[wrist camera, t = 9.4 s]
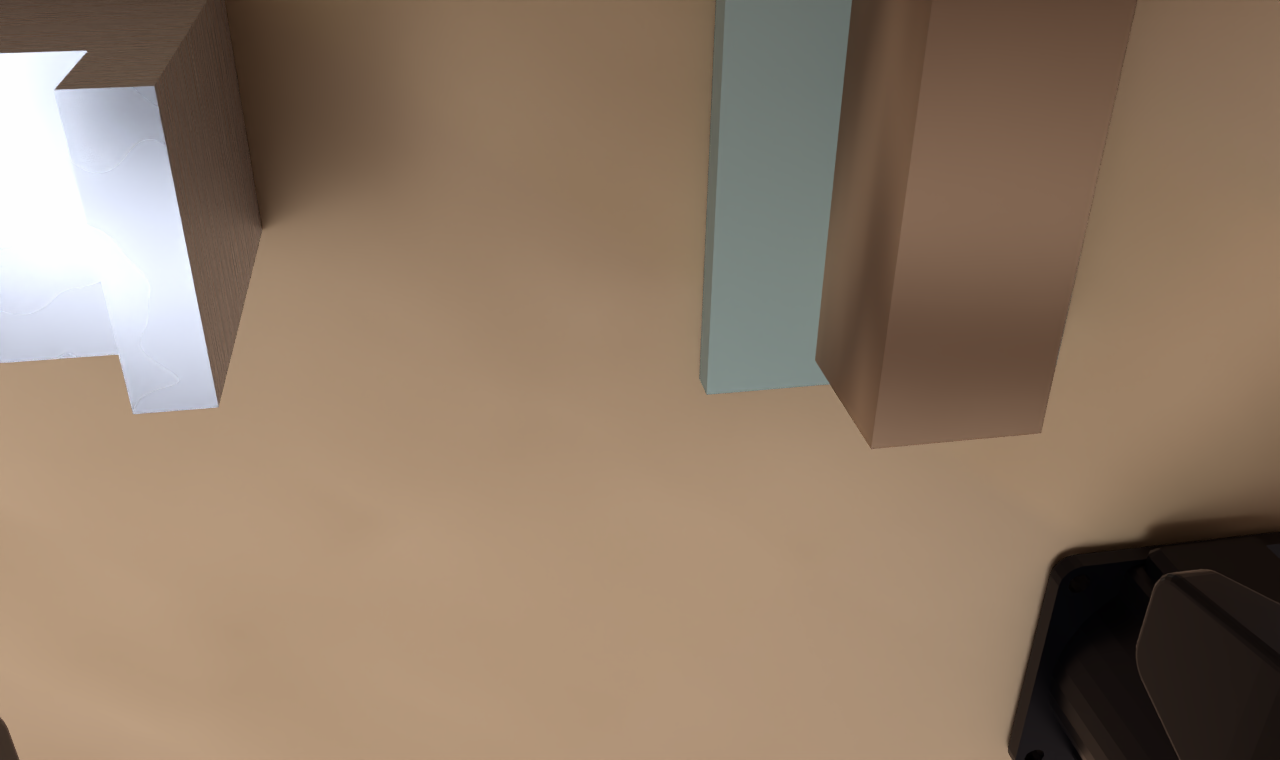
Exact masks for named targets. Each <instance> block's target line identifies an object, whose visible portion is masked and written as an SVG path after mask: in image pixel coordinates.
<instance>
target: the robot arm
mask: <svg viewBox="0 0 1280 760" xmlns="http://www.w3.org/2000/svg"><path fill="white" fill-rule="evenodd" d="M1076 576H1078V577H1076ZM1075 577H1076V578H1075ZM1074 578H1075V579H1074ZM1072 579H1074V580H1072ZM1008 753H1009V755H1010V757H1011V758H1012V760H1280V532H1273V533H1264V534H1256V535H1247V536H1238V537H1229V538H1220V539H1211V540H1202V541H1194V542H1185V543H1176V544H1167V545H1158V546H1149V547H1141V548H1132V549H1123V550H1114V551H1105V552H1096V553H1088V554H1079V555H1073V556H1069V557H1066V558H1064V559H1063V560H1061V561H1059V562H1058V563H1057V564H1056V565H1055V567H1054V568H1053V569H1052V572H1051V574H1050V577H1049V581H1048V585H1047V589H1046V593H1045V597H1044V601H1043V606H1042V610H1041V614H1040V618H1039V622H1038V626H1037V630H1036V634H1035V638H1034V643H1033V647H1032V651H1031V655H1030V659H1029V663H1028V667H1027V671H1026V675H1025V680H1024V684H1023V688H1022V692H1021V696H1020V700H1019V704H1018V708H1017V712H1016V717H1015V721H1014V725H1013V729H1012V733H1011V737H1010V741H1009V745H1008ZM0 760H19V757H18V755H17V752H16V749H15V747H14V744H13V741H12V739H11V736H10V733H9V730H8V728H7V726H6V724H5V722H4V721H3V720H2V719H1V718H0Z"/></svg>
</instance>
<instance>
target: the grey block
mask: <svg viewBox="0 0 1280 760" xmlns="http://www.w3.org/2000/svg"><path fill="white" fill-rule="evenodd" d="M261 234H262V227H261V221H260V214H259V208H258V202H257V196H256V190H255V184H254V178H253V172H252V165H251V159H250V153H249V147H248V141H247V135H246V129H245V123H244V117H243V110H242V104H241V98H240V92H239V86H238V80H237V74H236V68H235V61H234V55H233V49H232V43H231V37H230V31H229V25H228V19H227V12H226V6H225V0H0V363H6V362H20V361H34V360H47V359H61V358H75V357H89V356H103V355H116V354H119V358H120V362H121V367H122V371H123V375H124V379H125V383H126V387H127V391H128V395H129V399H130V403H131V407H132V412H133V414H141V413H153V412H166V411H178V410H190V409H203V408H215V407H219V403H220V399H221V395H222V391H223V387H224V383H225V379H226V375H227V371H228V367H229V363H230V359H231V355H232V351H233V347H234V343H235V339H236V335H237V331H238V327H239V323H240V318H241V314H242V310H243V306H244V302H245V298H246V294H247V290H248V286H249V282H250V278H251V274H252V270H253V266H254V262H255V258H256V254H257V250H258V246H259V242H260V238H261Z"/></svg>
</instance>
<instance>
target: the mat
mask: <svg viewBox="0 0 1280 760" xmlns="http://www.w3.org/2000/svg"><path fill="white" fill-rule="evenodd" d="M851 5H852V0H716V11H715V34H714V56H713V79H712V102H711V125H710V148H709V171H708V194H707V217H706V240H705V263H704V286H703V309H702V332H701V355H700V378H699V379H700V381H701V383H702V385H703V388H704V390H705V392H706V394H707V395H708V394H720V393H731V392H743V391H755V390H767V389H779V388H791V387H802V386H814V385H826V384H830V383H829V382H828V380H827V379H826V377H825V376H824V374H823V372H822V371H821V369H820V368H819V366H818V365H817V363H816V361H815V355H816V346H817V336H818V326H819V316H820V307H821V297H822V287H823V278H824V268H825V258H826V248H827V239H828V229H829V219H830V209H831V200H832V190H833V180H834V170H835V161H836V151H837V141H838V131H839V122H840V112H841V102H842V93H843V83H844V73H845V63H846V54H847V44H848V34H849V24H850V15H851ZM1071 296H1072V295H1071ZM1070 301H1071V300H1070ZM1069 305H1070V304H1069ZM1068 310H1069V309H1068ZM1067 314H1068V313H1067ZM1066 319H1067V318H1066ZM1065 323H1066V322H1065ZM1064 328H1065V327H1064ZM1063 332H1064V331H1063ZM1062 337H1063V336H1062ZM1061 341H1062V340H1061ZM1060 346H1061V345H1060ZM1059 350H1060V349H1059ZM1058 355H1059V354H1058ZM1057 359H1058V358H1057ZM1056 364H1057V363H1056Z"/></svg>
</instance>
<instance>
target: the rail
mask: <svg viewBox="0 0 1280 760" xmlns="http://www.w3.org/2000/svg"><path fill="white" fill-rule="evenodd" d="M1136 4H1137V0H852V5H851V15H850V24H849V34H848V44H847V54H846V63H845V73H844V83H843V93H842V102H841V112H840V122H839V131H838V141H837V151H836V161H835V170H834V180H833V190H832V200H831V209H830V219H829V229H828V239H827V248H826V258H825V268H824V278H823V287H822V297H821V307H820V316H819V326H818V336H817V346H816V355H815V361H816V363H817V365H818V366H819V368H820V369H821V371H822V372H823V374H824V376H825V377H826V379H827V380H828V382H829V383H830V385H831V387H832V388H833V390H834V391H835V393H836V394H837V396H838V398H839V399H840V401H841V402H842V404H843V405H844V407H845V409H846V410H847V412H848V413H849V415H850V416H851V418H852V420H853V421H854V423H855V424H856V426H857V427H858V429H859V431H860V432H861V434H862V435H863V437H864V438H865V440H866V442H867V443H868V445H869V446H870V448H871V449H875V448H886V447H897V446H908V445H919V444H929V443H940V442H951V441H962V440H973V439H983V438H994V437H1005V436H1016V435H1027V434H1037V433H1041V430H1042V426H1043V421H1044V417H1045V412H1046V408H1047V403H1048V399H1049V394H1050V390H1051V385H1052V381H1053V376H1054V372H1055V367H1056V363H1057V358H1058V354H1059V349H1060V345H1061V340H1062V336H1063V331H1064V327H1065V322H1066V318H1067V313H1068V309H1069V304H1070V300H1071V295H1072V291H1073V287H1074V282H1075V278H1076V273H1077V269H1078V264H1079V260H1080V255H1081V251H1082V246H1083V242H1084V237H1085V233H1086V228H1087V224H1088V219H1089V215H1090V210H1091V206H1092V201H1093V197H1094V192H1095V188H1096V183H1097V179H1098V174H1099V170H1100V165H1101V161H1102V156H1103V152H1104V147H1105V143H1106V138H1107V134H1108V129H1109V125H1110V120H1111V116H1112V111H1113V107H1114V102H1115V98H1116V94H1117V89H1118V85H1119V80H1120V76H1121V71H1122V67H1123V62H1124V58H1125V53H1126V49H1127V44H1128V40H1129V35H1130V31H1131V26H1132V22H1133V17H1134V13H1135V8H1136Z"/></svg>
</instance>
